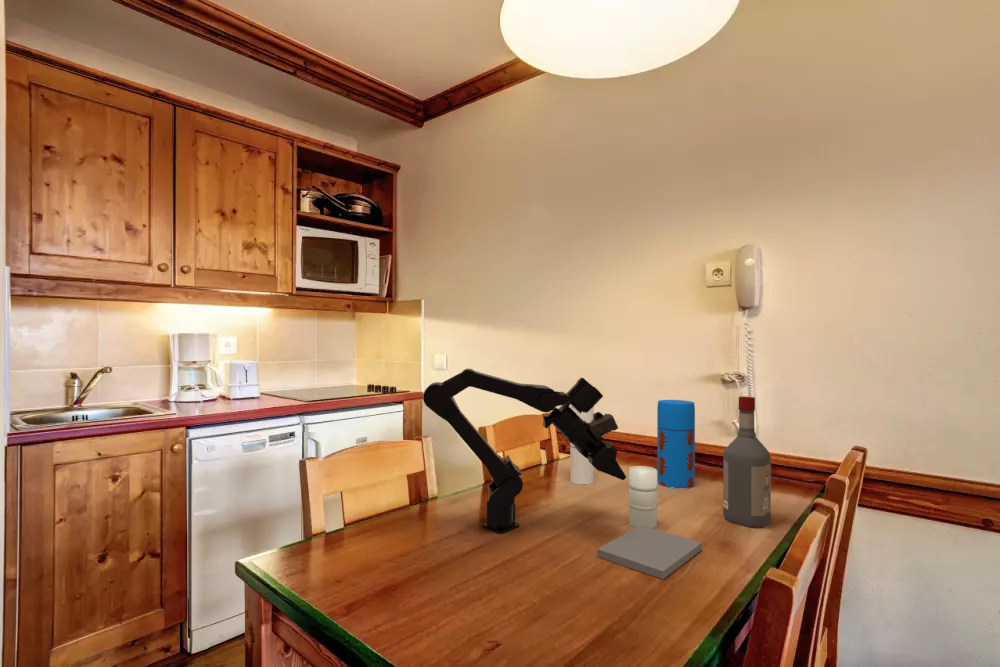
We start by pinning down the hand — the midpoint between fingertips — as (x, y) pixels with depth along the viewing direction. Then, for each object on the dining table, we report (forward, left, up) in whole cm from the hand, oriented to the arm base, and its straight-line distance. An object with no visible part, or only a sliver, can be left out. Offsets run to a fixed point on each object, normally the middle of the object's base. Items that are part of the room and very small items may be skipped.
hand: (618, 473), depth 119 cm
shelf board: (-10, -13, -12) cm, 20 cm away
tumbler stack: (+4, -4, -12) cm, 13 cm away
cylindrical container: (+24, +27, -12) cm, 38 cm away
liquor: (+24, -21, -12) cm, 34 cm away
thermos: (+42, +5, -12) cm, 44 cm away
